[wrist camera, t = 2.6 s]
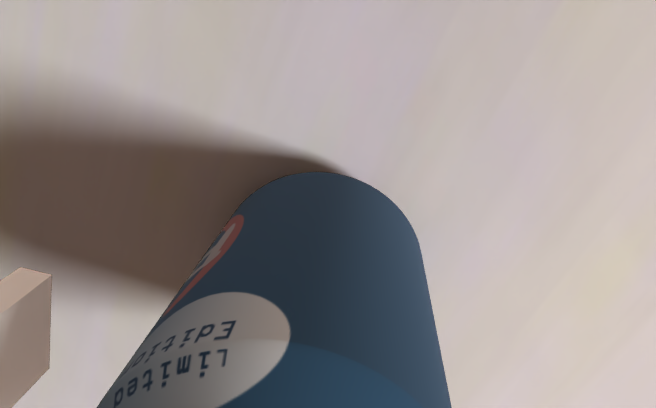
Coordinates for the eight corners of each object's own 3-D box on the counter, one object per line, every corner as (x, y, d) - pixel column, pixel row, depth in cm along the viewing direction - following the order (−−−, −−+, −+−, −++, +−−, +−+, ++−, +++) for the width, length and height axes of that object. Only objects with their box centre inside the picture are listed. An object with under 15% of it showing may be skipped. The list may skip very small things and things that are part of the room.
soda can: (218, 165, 18) (-54, 423, 6) (418, 155, 17) (504, 426, 6) (243, 333, 20) (77, 735, 9) (420, 331, 19) (484, 767, 8)
